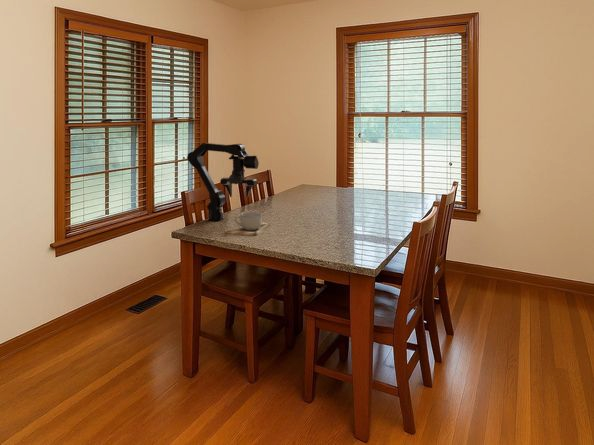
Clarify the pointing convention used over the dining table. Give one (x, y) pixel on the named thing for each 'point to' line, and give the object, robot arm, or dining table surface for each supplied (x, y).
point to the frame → (265, 225)
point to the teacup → (249, 220)
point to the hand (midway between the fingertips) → (239, 197)
